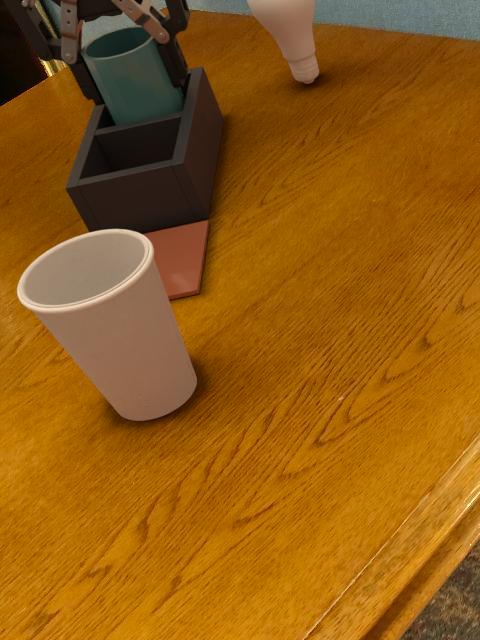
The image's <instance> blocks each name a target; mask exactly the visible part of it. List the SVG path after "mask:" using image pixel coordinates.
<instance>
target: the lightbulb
mask: <svg viewBox="0 0 480 640" xmlns="http://www.w3.org/2000/svg"><path fill="white" fill-rule="evenodd" d="M246 2H247V5H248V8H249V10H250V12H251V13H252V15H253V16H254V18H255V19H256V20H257V22H258V23H259V24H260V25H261V26H262V27H263V28H264V29H265V30H266V31H267V32H268V33H269V34H270V36H271V37H272V38H273V39H274V41H275V42H276V44H277V45H278V48H279V49H280V52H281V54H282V56H283V58H284V59H285V60H286V61H287V63H288V66H289V69H290V71H291V75H292V76H293V78H294V80H296V81H297V82H300V83H303V84H305V85H309V84H312V83H313V82H315V79H316V78H317V77H319V74H320V69H319V63H318V60H317V57H316V53H315V52H316V50H317V49H316V45H315V41H314V34H313V20H314V16H315V9H316V0H246Z"/></svg>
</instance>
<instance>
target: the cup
mask: <svg viewBox="0 0 480 640" xmlns="http://www.w3.org/2000/svg"><path fill="white" fill-rule="evenodd" d="M157 45H158V41H156V40H155V39H154V38H153V37H152V36H151V35H150V34H149V33H148V32H147V31H146V30H145V29H144V28H143V27H142V26H140V25H137V24H136V25H128V26H123V27H119V28H115V29H112V30H109V31H107V32H104V33H102V34H100V35H98V36H96V37H94V38H92V39H90V40H89V41H88V42H87V43H86V44H84V45H83V46H82V51H81V56H82V58H83V60H84V62H85V64H86V66H87V68H88V70H89V72H90V74H91V76H92V78H93V80H94V83H95V85H96V87H97V89H98V91H99V93H100V95H101V97H102V99H103V101H104V103H105V105H106V107H107V109H108V111H109V113H110V115H111V118H112V120H113V122H114V124H115V126H116V125H121V124H125V123H130V122H134V121H139V120H144V119H148V118H153V117H157V116H162V115H166V114H171V113H176V112H180V111H183V109H184V104H185V97H184V95H183V93H182V90H181V88H180V87H179V88H175V87H174V86H173V83H172V81H171V79H170V76H169V74H168V72H167V69H166V67H165V65H164V62H163V60H162V58H161V55H160V53H159V51H158V48H157Z"/></svg>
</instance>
